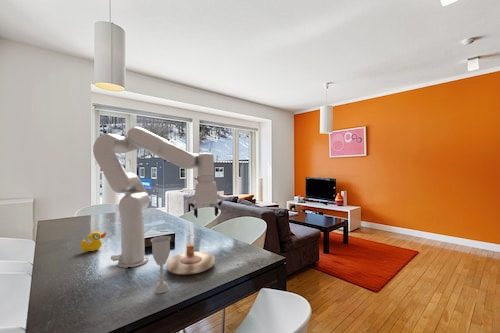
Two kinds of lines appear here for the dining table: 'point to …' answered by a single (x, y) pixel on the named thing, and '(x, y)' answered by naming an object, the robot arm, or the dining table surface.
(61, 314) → the dining table surface
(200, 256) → the turntable
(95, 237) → the duckling
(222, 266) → the dining table surface
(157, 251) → the chalice
